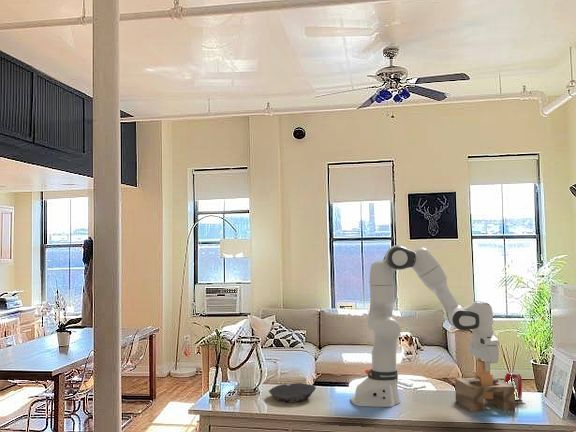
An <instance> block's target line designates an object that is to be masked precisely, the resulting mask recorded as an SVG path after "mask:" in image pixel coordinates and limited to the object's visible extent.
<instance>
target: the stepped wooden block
mask: <svg viewBox="0 0 576 432" xmlns="http://www.w3.org/2000/svg"><path fill="white" fill-rule="evenodd" d="M476 364H477V365H476V369H477V371H474V378H475V379H481V382H479V383H476V384H478V385H480V386H493V377H494V374H492V373H491V365H490V366H489V371H485V370H484V366H485V361H484V360H482V361H477V360H476ZM485 399H493V392H484V400H485Z"/></svg>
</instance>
